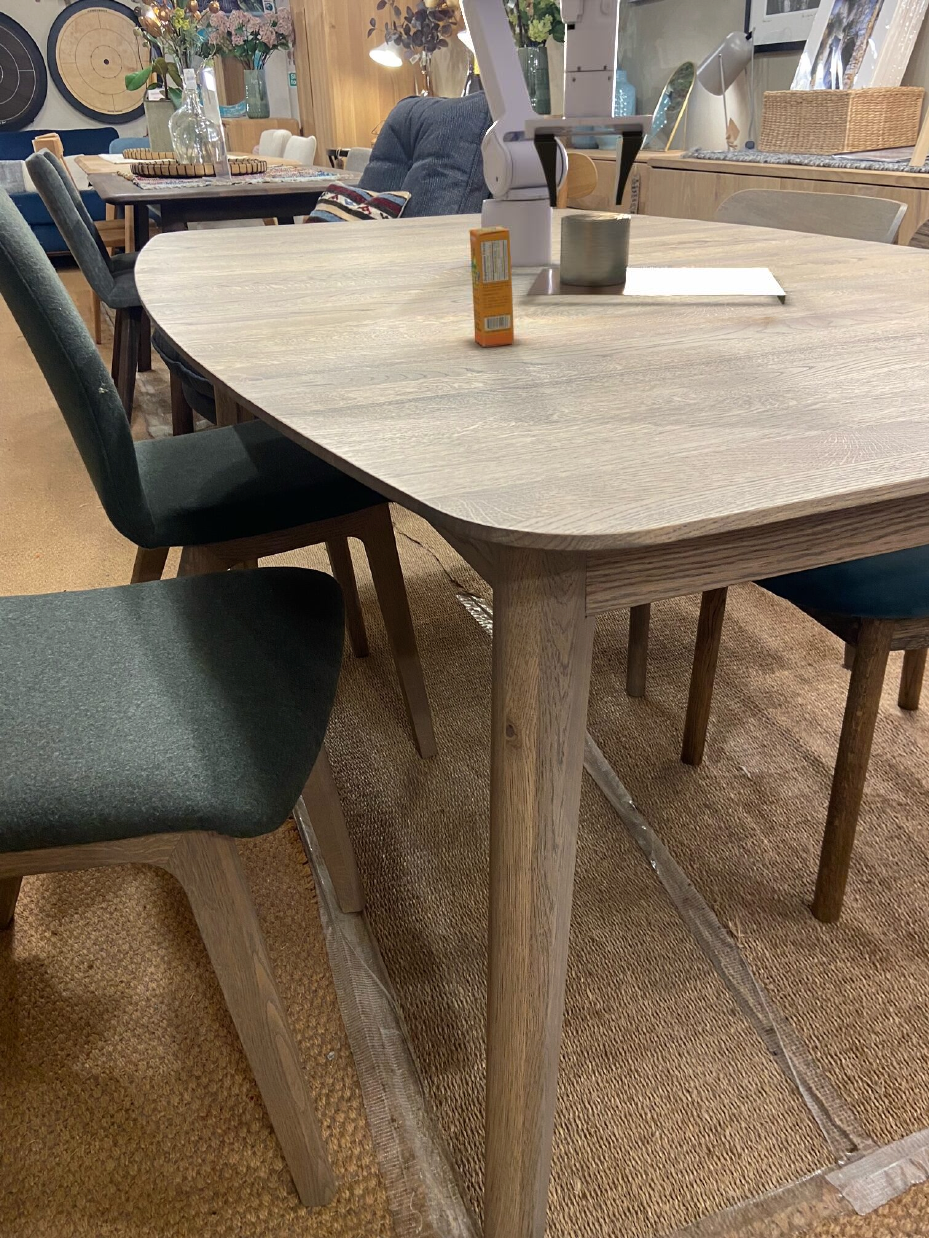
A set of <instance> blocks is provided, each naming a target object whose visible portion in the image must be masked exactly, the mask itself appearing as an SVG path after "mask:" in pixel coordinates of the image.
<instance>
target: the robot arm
mask: <svg viewBox="0 0 929 1238" xmlns="http://www.w3.org/2000/svg"><path fill="white" fill-rule="evenodd" d="M621 1H622V0H559V3H560V18H561V23H563V24H564V25H565V29H564V32H565V35H564V41H565V42H564V69H563V70H564V71H563V72H564V74H563V78H564V79H563V117H553V118H552V117H551V118H550V117H549V118H545V117H543V116H541V115H540V114H539V113H537V112H535V110H534V109H533V105H532V101H531V97H530V95H529V90H528V86H527V83H526V79H525V76H524V73H523V69H522V65H521V62H520V58H519V54H518V51H517V48H516V45H515V40H514V36H513V33H512V30H511V25H510V22H509V19H508V15H507V12H506V7H505V5H504V1H503V0H459V5H460V9H461V11H462V15H463V19H464V22H465V27H466V30H467V33H468V37H469V40H470V44H471V47H472V52H473V55H474V59H475V62H476V65H477V69H478V72H479V76H480V81H481V83H482V86H483V91H484V95H485V97H486V101H487V104H488V109H489V112H490V115H491V119H492V123H493V125H492V126H490V127H489V129H488V130H487V132H486V133H485V135H484V137H483V139H482V141H481V145H480V150H481V154H482V161H483V169H482V171H483V178H484V181H485V184H486V186H487V188H488V190H489V192H490V193H491V194H492V196H493V197H492V198H489V199H488V198H487V199H484V200H483V201H482V205H481V216H480V217H481V218H480V220H481V221H480V228H487V227H497V226H501V227H502V228H504V229H509V230H510V231H509V233H510V251H511V267H537V266H544V265H549V264H551V263H552V261H553V260H552V259H553V258H552V257H553V256H552V255H553V251H552V250H553V208H557V207H558V206H557V205H558V196H559V190H560V189H561V188H562V187H563V185H564V183H565V181H566V178H567V175H568V169H569V162H568V155H567V151H566V149H565V147H564V145H563V143H562V142H561V140H560V139H559V138H571V137H573V138H576V137H601V136H617V137H618V138H617V139H616V140H615V142H616V145H615V149H616V151H615V179H614V188H613V201H612V202H613V205H614V206H622V203H623V197H624V192H625V189H626V185H627V182H628V179H629V175H630V174H631V170H632V168H633V166H634V163H635V160H636V158H637V156H638V154H639V152H640V150H641V148H642V146H643V143H644V136H645V135H646V136H647V135H653V124H654V115H653V114H643V115H615V114H614V113H615V93H616V70H617V51H618V34H619V33H618V31H619V30H618V29H619V11H620V10H619V9H620V3H621ZM598 126H599V127H600V126H603V127H602V128H603V129H605V130H586V131H585V130H583V131H582V130H581V131H580V130H579V131H573V128H574V127H598Z"/></svg>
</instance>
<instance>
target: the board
mask: <svg viewBox="0 0 929 1238" xmlns="http://www.w3.org/2000/svg"><path fill="white" fill-rule="evenodd" d="M526 296H776V297H777V299H778V301H779V302H780V303H781V305H785V303H786V296H787V295H786V293H785V292H784V290H783V289H782V288H781V286H780V285H779V283H778V282H777V281H776V279H775V278H774V277H773V275H772V273H771V272H770V271H769V269H768V268H767V267H714V268H713V267H705V268H704V267H702V268H701V267H700V268H699V267H697V268H696V267H695V268H694V267H692V268H691V267H690V268H689V267H688V268H687V267H681V268H680V267H679V268H677V267H676V268H667V267H665V268H663V267H662V268H658V267H657V268H653V267H652V268H651V267H650V268H647V267H646V268H645V267H643V268H628V274H627V281H626V282H624V283H622V284H617V285H610V286H573V285H567V284H563V283H561V282H560V268H542V269H541V271H540V273H539V274H538V275H537V277H536V279H535V281H534V282H533V283H532V285H531V287H530V289H528V291H527V293H526Z"/></svg>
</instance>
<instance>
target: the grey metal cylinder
mask: <svg viewBox="0 0 929 1238" xmlns="http://www.w3.org/2000/svg"><path fill="white" fill-rule="evenodd" d="M631 218H632V217H631V215H629V214H624V213H611V212H610V213H609V212H608V213H607V212H606V213H605V212H599V213H598V212H597V213H594V212H593V213H591V212H590V213H577V214H569V215H564V216H562V217H561V218H560V220H561V221H560V257H559V259H560V260H559V269H560V282H561V283H563V284H567V285H573V286H610V285H617V284H622V283H624V282H626V281H627V274H628V269H629V258H630V257H629V256H630V240H631V238H630V236H631V223H632V222H631V221H632V219H631Z"/></svg>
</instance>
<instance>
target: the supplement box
mask: <svg viewBox="0 0 929 1238" xmlns="http://www.w3.org/2000/svg"><path fill="white" fill-rule="evenodd" d="M468 231H469V241H470V243H469V244H470V266H471V286H472V305H473V327H474V341H475V342H476V343H477V344H479V345H481V346H482V347H484V348H487V347H488V348H489V347H498V346H505V345H510V344H511V345H513V344H514V343H515V342H514V341H515V330H514V303H513V301H514V300H513V299H514V298H513V280H512V279H513V278H512V277H513V275H512V274H513V273H512V266H511V251H510V233H509V231H510V230H509V229H504V228H502V227H501V226H497V227H487V228H481V227H479V228H474V229H469V230H468Z"/></svg>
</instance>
